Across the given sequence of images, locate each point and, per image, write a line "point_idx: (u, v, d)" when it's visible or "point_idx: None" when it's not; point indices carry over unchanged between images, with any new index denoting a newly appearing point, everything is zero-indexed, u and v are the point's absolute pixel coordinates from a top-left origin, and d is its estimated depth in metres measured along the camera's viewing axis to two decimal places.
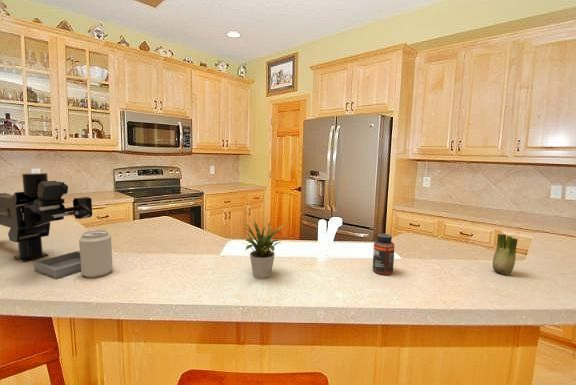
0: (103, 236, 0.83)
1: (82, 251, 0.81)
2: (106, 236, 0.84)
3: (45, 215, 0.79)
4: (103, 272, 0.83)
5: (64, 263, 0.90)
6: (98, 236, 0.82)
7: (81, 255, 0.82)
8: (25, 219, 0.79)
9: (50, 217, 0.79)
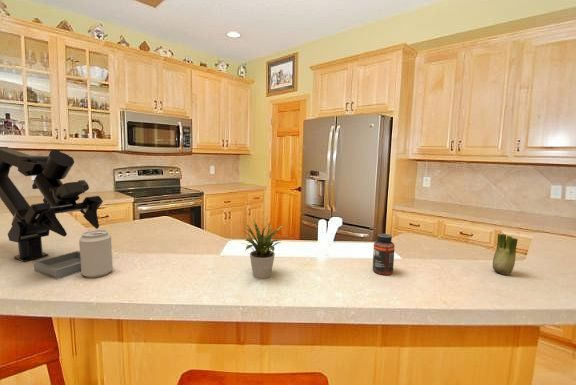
0: (103, 236, 0.83)
1: (82, 251, 0.81)
2: (106, 236, 0.84)
3: (59, 228, 0.81)
4: (103, 272, 0.83)
5: (64, 263, 0.90)
6: (98, 236, 0.82)
7: (81, 255, 0.82)
8: (38, 220, 0.80)
9: (63, 233, 0.81)
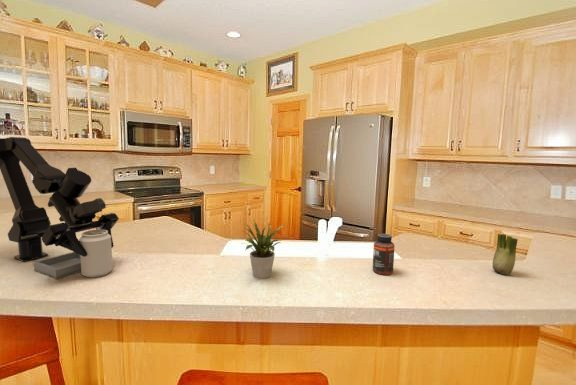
0: (103, 236, 0.83)
1: None
2: (106, 236, 0.84)
3: (80, 248, 0.80)
4: (103, 272, 0.83)
5: (64, 263, 0.90)
6: (98, 236, 0.82)
7: (81, 255, 0.82)
8: (59, 241, 0.79)
9: (83, 253, 0.80)
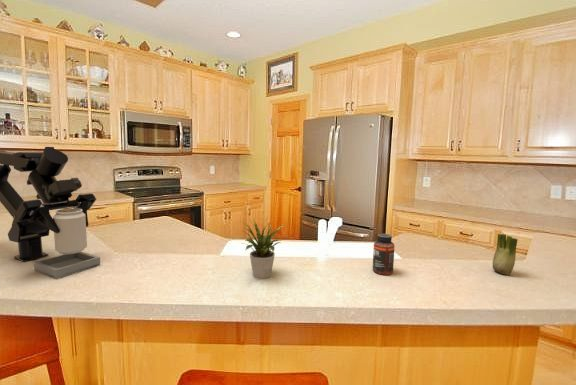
0: (76, 214, 0.85)
1: None
2: (80, 214, 0.86)
3: (52, 225, 0.82)
4: (76, 249, 0.85)
5: (64, 263, 0.90)
6: (71, 214, 0.84)
7: (54, 232, 0.84)
8: (32, 217, 0.81)
9: (56, 230, 0.82)
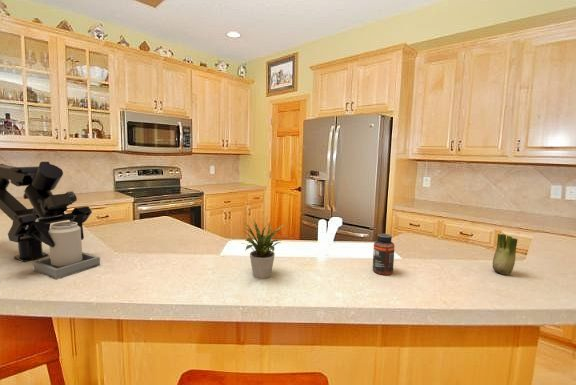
0: (71, 228, 0.86)
1: None
2: (75, 228, 0.87)
3: (47, 239, 0.83)
4: (71, 263, 0.86)
5: None
6: (66, 228, 0.85)
7: None
8: (27, 231, 0.82)
9: (51, 244, 0.83)
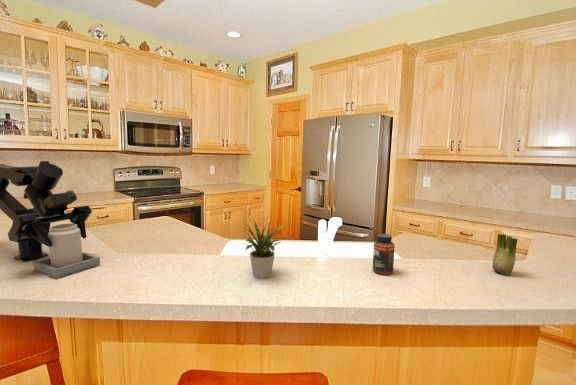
0: (71, 230, 0.86)
1: None
2: (74, 230, 0.87)
3: (45, 239, 0.82)
4: (71, 264, 0.86)
5: None
6: (65, 230, 0.85)
7: (49, 248, 0.85)
8: (24, 231, 0.81)
9: (48, 244, 0.83)
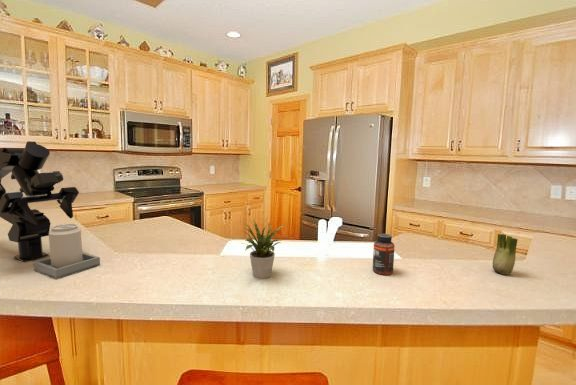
0: (71, 230, 0.86)
1: (50, 244, 0.84)
2: (75, 230, 0.87)
3: (31, 217, 0.84)
4: None
5: None
6: (66, 230, 0.85)
7: (50, 248, 0.85)
8: (11, 209, 0.83)
9: (34, 221, 0.84)
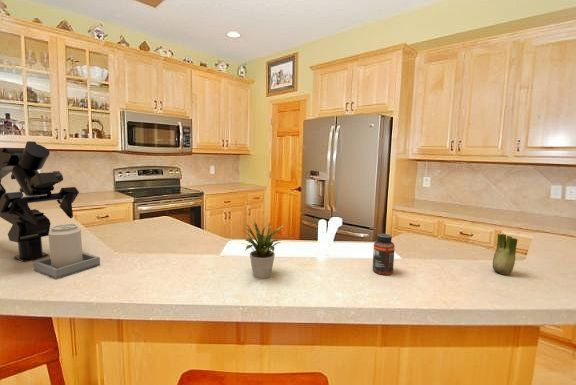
0: (71, 230, 0.86)
1: (50, 244, 0.84)
2: (75, 230, 0.87)
3: (31, 217, 0.84)
4: None
5: None
6: (66, 230, 0.85)
7: (50, 248, 0.85)
8: (11, 209, 0.83)
9: (34, 221, 0.84)
